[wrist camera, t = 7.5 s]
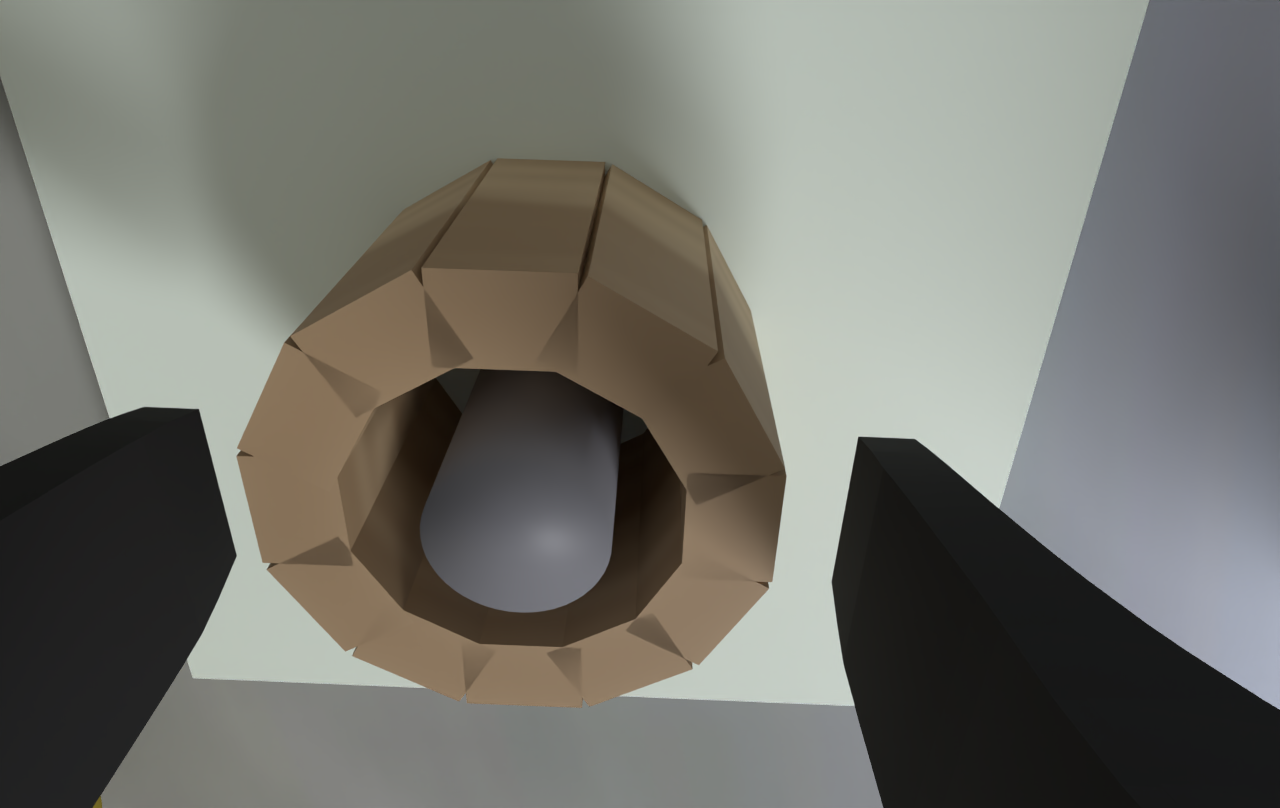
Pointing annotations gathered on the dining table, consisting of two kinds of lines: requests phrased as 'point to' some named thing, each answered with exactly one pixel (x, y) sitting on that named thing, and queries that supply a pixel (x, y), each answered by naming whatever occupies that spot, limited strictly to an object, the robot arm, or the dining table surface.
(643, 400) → the bead
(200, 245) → the white board with peg
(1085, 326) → the dining table surface
